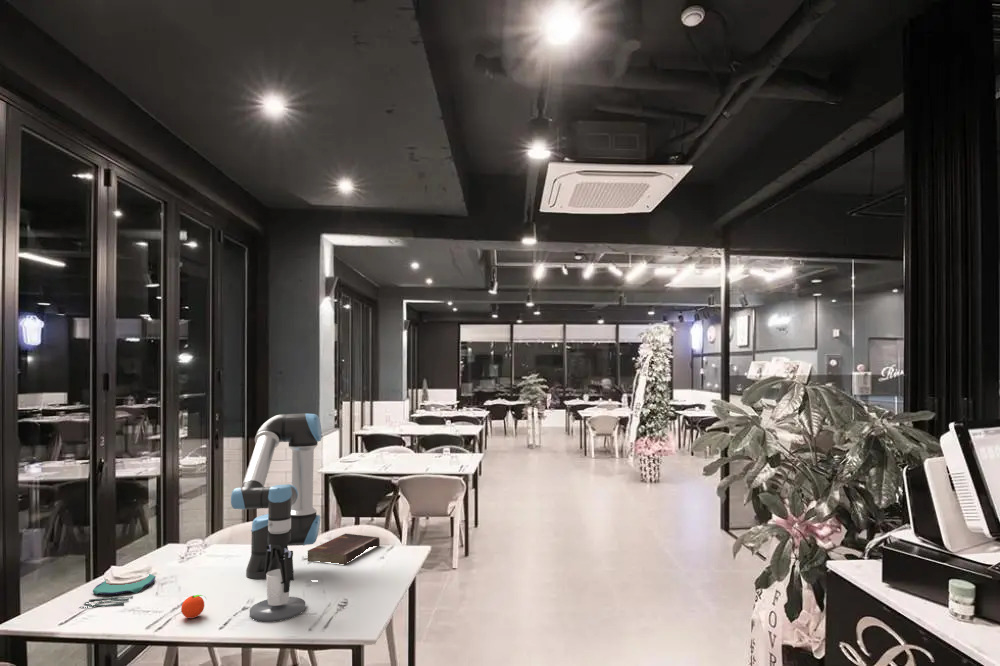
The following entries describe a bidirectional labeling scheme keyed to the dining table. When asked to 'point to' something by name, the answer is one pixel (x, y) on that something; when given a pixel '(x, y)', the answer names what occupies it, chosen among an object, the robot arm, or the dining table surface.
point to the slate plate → (277, 610)
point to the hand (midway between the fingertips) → (278, 598)
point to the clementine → (192, 606)
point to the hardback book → (342, 548)
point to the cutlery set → (119, 590)
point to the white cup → (274, 587)
